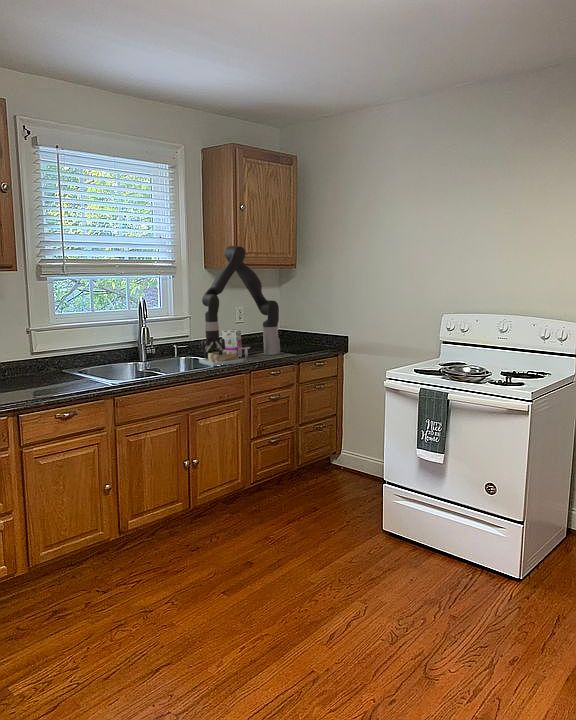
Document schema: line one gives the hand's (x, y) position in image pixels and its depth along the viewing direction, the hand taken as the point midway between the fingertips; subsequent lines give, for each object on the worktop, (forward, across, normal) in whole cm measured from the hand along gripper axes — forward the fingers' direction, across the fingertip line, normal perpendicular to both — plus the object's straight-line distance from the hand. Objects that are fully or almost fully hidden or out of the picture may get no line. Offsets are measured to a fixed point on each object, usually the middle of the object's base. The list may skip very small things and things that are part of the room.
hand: (213, 357), depth 347 cm
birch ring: (+3, +6, 0) cm, 6 cm away
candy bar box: (+4, +20, +15) cm, 25 cm away
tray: (+4, +5, 0) cm, 6 cm away
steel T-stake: (+4, +23, +3) cm, 23 cm away
